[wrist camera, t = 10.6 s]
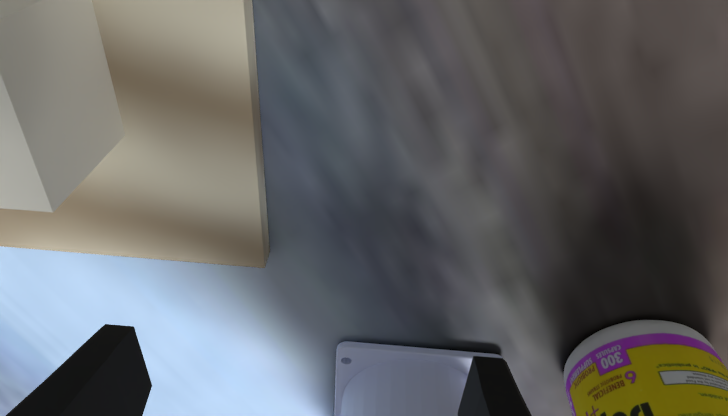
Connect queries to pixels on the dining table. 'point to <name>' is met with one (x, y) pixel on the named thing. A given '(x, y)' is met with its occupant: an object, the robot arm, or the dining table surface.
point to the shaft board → (170, 143)
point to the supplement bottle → (646, 372)
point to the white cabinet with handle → (52, 101)
